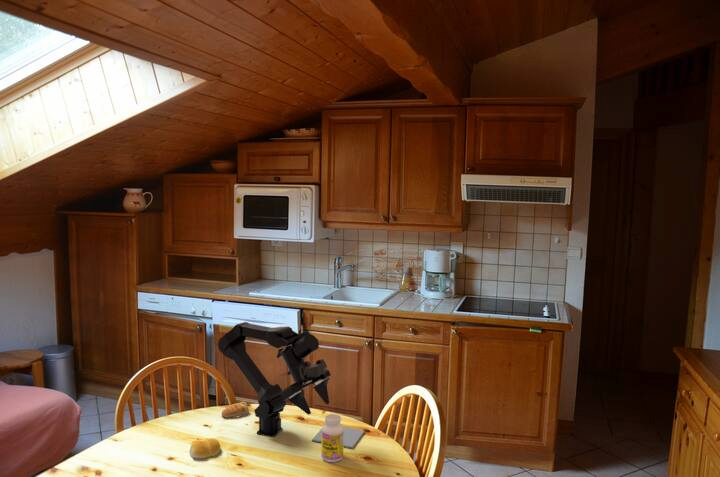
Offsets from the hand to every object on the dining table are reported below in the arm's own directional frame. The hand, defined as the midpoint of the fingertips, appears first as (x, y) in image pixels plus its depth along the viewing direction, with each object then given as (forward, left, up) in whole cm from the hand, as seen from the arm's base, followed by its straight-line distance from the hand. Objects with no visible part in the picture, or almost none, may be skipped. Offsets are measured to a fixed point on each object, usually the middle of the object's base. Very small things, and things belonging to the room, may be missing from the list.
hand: (319, 408), depth 161 cm
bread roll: (-32, -14, -14) cm, 38 cm away
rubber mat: (+3, +10, -13) cm, 17 cm away
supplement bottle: (+6, -3, -14) cm, 15 cm away
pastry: (-38, +13, -14) cm, 43 cm away
